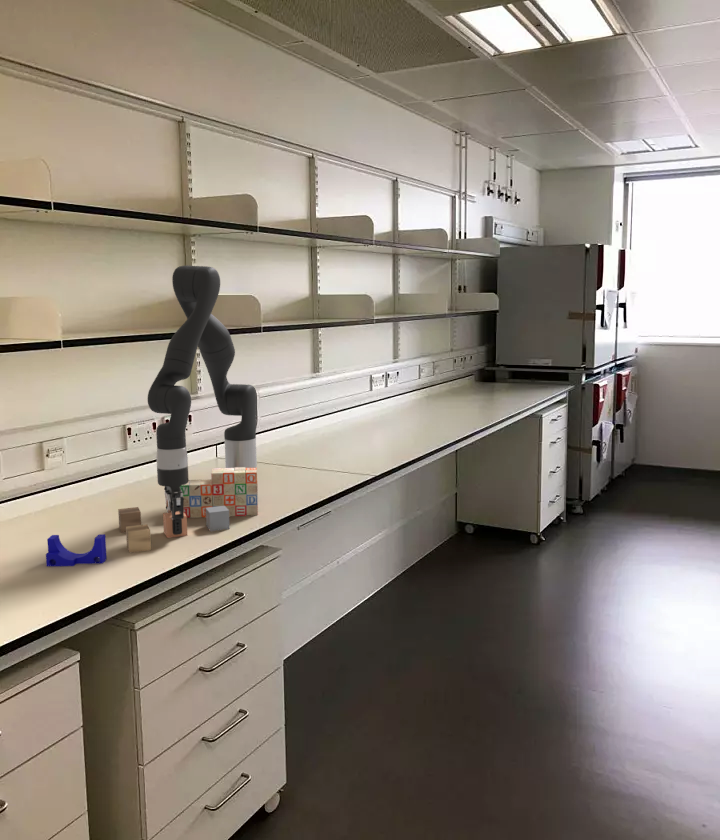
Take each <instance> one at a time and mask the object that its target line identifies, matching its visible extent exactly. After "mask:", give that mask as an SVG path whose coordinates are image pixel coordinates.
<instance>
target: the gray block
mask: <svg viewBox="0 0 720 840" xmlns="http://www.w3.org/2000/svg"><path fill="white" fill-rule="evenodd" d="M205 521H206V523H205V526H206V527H207V529H208V530H209V531H210V532H216V530H217V531H222V530H223V529H225V530H230V528H231V527H230V516H229V510H228V509H227V508H226V507H225V506H217V507H208V508H206V517H205ZM223 531H224V530H223Z"/></svg>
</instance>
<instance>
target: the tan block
mask: <svg viewBox="0 0 720 840" xmlns="http://www.w3.org/2000/svg"><path fill="white" fill-rule="evenodd" d="M117 510H118V511H117V512H118V529H119V530H120V533H121V534H122V533H126V527H128V526H137V525H142V516H141V515H142V513H141V509H140V508H139V506H137V507H125V508H118V509H117Z"/></svg>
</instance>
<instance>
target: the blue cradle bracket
mask: <svg viewBox="0 0 720 840" xmlns="http://www.w3.org/2000/svg"><path fill="white" fill-rule="evenodd" d="M46 539H47V553H46V554H45V561H46V563H45V564H46V567H75V565H80V564H81V565H83V564H85V565H86V564H88V565H89V564H94V565H95V564H104V563H105V561H106V560H108V559H107V544H106V542H107V541H106V534H102V533H101V534H97V535H96V536H95V537H94V541H93V545H92V548H91V549H90V550H89V551H87V552H84V553H76V552H72V551H70V550H68V548H66V547H65V546H64V545H63V543H62V542H61V540H60V535H59V534H52V535H50V536H49V537H48V538H46Z"/></svg>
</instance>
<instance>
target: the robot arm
mask: <svg viewBox="0 0 720 840" xmlns="http://www.w3.org/2000/svg"><path fill="white" fill-rule="evenodd" d="M171 280H172V288H173V292H174V295H175V297H176V299H177V302H178V303H179V305H180V307H181V309H182V311H183V314H184V315H185V317H186V320H185V322H183V323H182V325H181V326H180V327H179V328H178V329H177V330H176V332H175V333H174V334H173V335H172V337H171V339H170V340H169V343H168V345H167V349H166V351H165V357H164V359H163V365H162V367H161V368H160V370H159V372H158V373H157V375H156V376H155V378H154V380H153V381H152V383H151V385H150V388H149V389H148V393H147V405H148V408H149V409H150V410H151V412H153V413H156V414H168V415H170V418H169V421H168V422H164V423H161V424H158V426H157V427H156V429H155V430H156V431H155V432H156V433H155V435H156V473H157V474H156V475H157V477H156V478H157V485H159V486H161V487H164V489H163V491H164V498H165V509H166V513H170V512H171V516H172V517H171V519H172V527H173V534H174V535H177V534H181V533H182V520H181V519H183V518H184V498H183V491H181V489H180V486H181V485H185V484H187V483H188V481H189V480H190V479H189V460H188V459H189V457H188V451H187V440H186V439H187V438H186V435H187V434H186V429H187V425H188V420H189V416H190V412H191V411H190V410H191V407H192V396H191V393H190V391H189V390H188V389H187V388H186V386H183V385H176V383H177V382H180V381H183V380H186V379H189V377H190V376H191V373H192V370H193V366H194V362H195V358H196V354H197V351H198V350H199V353H200V355H201V357H202V361H203V362H204V365H205V367H206V370H207V373H208V375H209V378H210V382H211V385H212V389H213V394H214V397H215V401H216V405H217V407H218V409H219V411H220V412H221V414H223V415H225V416H240V417H241V421H240V422H239V423H238V424H235V425H232V426H228V427H226V429H225V430H224V432H223V434H224V461H225V463H224V464H225V468H235V467H245V468H257V469H258V466H257V465H258V463H257V462H258V461H257V436H256V435H257V434H256V433H257V407H258V406H257V405H258V400H257V391H256V389H255V387H254V386H253V384H246V383H245V384H237V383H236V384H235V383H233V384H232V383H230V382H229V380H228V378H227V377H228V376H227V375H228V372H229V370H230V369H231V366H232V364H233V361H234V359H235V356H236V349H235V346H234V343H233V340H232V337H231V334H230V332H229V329H227V327H226V326H225V324H223V323H222V321H220V320H219V319H218V318H217V317H216V316H214V314H212V312H213V310H214V307H215V306H216V302H217V301H218V297H219V294H220V291H221V278H220V274H219V272H218V270H217V269H216V268H215V267H213V266H204V265H181V266H178V267H176V268H175V269H174V271H173V273H172V278H171ZM175 512H179V514H176V515H175Z"/></svg>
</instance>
